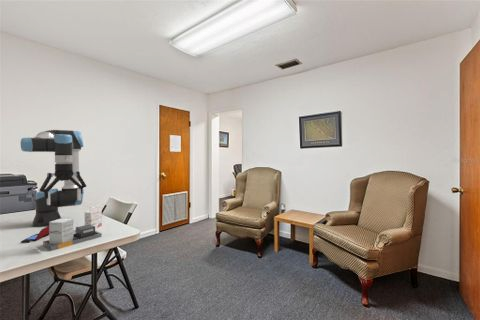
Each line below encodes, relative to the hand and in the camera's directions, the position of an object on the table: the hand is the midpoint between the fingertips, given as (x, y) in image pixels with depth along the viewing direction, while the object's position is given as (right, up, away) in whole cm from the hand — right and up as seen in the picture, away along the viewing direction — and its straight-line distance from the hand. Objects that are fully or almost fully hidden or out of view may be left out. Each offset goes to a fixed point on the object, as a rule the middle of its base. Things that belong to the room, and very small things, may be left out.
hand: (64, 202), depth 122 cm
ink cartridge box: (+1, -21, +23) cm, 31 cm away
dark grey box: (+8, -21, +6) cm, 23 cm away
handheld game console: (-19, -22, +6) cm, 29 cm away
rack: (+4, -22, +1) cm, 22 cm away
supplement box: (+1, -21, -4) cm, 22 cm away
